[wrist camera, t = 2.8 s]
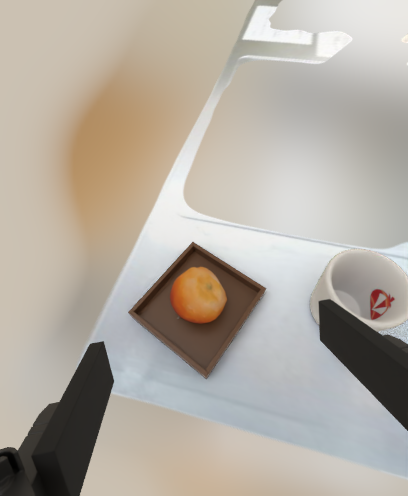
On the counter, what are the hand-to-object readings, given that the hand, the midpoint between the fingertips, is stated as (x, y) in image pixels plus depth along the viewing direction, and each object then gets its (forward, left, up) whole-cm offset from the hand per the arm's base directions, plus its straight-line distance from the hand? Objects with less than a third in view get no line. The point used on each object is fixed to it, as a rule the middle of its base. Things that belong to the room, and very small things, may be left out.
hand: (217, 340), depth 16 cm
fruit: (+7, +8, -23) cm, 25 cm away
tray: (+7, +8, -24) cm, 26 cm away
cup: (+17, -10, -24) cm, 31 cm away
